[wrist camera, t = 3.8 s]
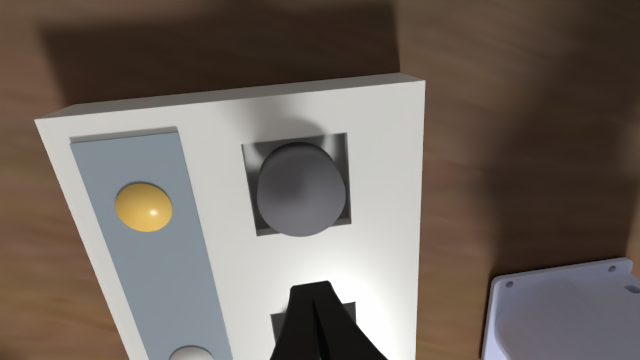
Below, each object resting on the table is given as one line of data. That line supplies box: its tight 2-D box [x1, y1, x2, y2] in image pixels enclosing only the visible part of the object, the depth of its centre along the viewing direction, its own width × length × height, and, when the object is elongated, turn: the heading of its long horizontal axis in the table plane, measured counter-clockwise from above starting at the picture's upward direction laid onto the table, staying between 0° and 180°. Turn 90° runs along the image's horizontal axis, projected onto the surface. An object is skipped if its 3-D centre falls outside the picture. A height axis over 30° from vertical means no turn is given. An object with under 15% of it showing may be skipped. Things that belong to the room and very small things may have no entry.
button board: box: [34, 73, 425, 360], centre depth 20 cm, size 15×26×3 cm, turn 4°
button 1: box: [257, 142, 346, 237], centre depth 15 cm, size 4×4×2 cm
